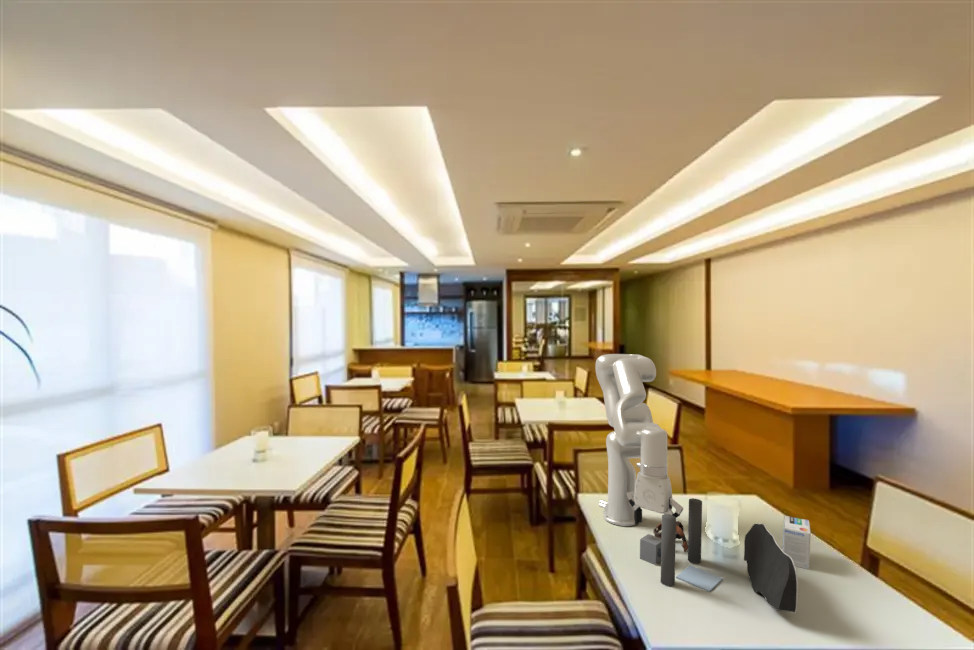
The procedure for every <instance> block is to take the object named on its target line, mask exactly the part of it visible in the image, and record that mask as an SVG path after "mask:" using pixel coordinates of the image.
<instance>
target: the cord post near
mask: <svg viewBox="0 0 974 650" xmlns="http://www.w3.org/2000/svg"><path fill="white" fill-rule="evenodd" d="M676 521H677V518H676V517H675V516H673V515H669V514H664V513H663V514H662V515H661V523H662V529H661V532H662V534H661V562H660V583H661V584H662V585H663V586H665V587H674V586H675V584H676V544H677V543H676V541H677V539H676Z"/></svg>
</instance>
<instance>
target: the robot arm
mask: <svg viewBox="0 0 974 650" xmlns="http://www.w3.org/2000/svg"><path fill="white" fill-rule="evenodd" d="M594 367H595V368H594V369H595V375H596V379H597V381H598V383H599V386H600V388H601V391H602V394H603V400H604V408H605V409H604V410H605V414H606V419H607V420H606V421H607V423H608V425H609V426H610V427H612V428H613V429H614V430H613V431H611V432H609V433H608V434H607V435H606V439H605V445H606V453H607V461H608V463H607V464H608V465H607V466H608V470H607V471H608V472H607V473H608V474H607V475H608V477H607V479H608V480H607V501H606V500H604V499H600V500H599V503H598V506H599V508H603V509H604V511H603V514H602V517H603V519H604V520H605V521H606V522H607V523H610V524H613V525H616V526H621V527H631V526H636V525H638V524H641V523H643V509H645V510H648V511H652V512H654V513H657V514H662V515H664V514H669V515H673V516H675V517H676V519H677V518H678V517H680V516H681V514H682V513H683V510H684V506H682V505H681V504H680V503H678V502H677V501H676V500H675V499H674V498H673V491H672V490H673V489H672V483H671V479H670V476H668V432H667V431H666V430H665V429H663V428H661V426H660V425H659V424H657V423H656V422H654V421H653V420H654V419H653V416H652V415H653V414H652V411H651V409H650V407H649V405H647V403H645V402H644V401H645V400H646V399H647V392H646V389H645V386H644V384H643V383H645V382H646V383H649V382H650V383H651V382H653V381H654V380H655V379H656V376H657V368H656V365H655V363H654V362H653V360H652V359H651V358H649V357H646V356H643V355H641V354H637V353H636V354H634V353H633V354H630V353H628V354H626V353H608V354H607V353H606V354H603V355H602V354H601V355H600V356H598V357H597V359H596V360H595V365H594ZM629 459H640V462H637V463H636V467H637V468H639V471H638V472H637V471H636V467H634V465H633V464H632V463H631V461H630V460H629ZM672 509H675V510H674V512H673V510H672Z"/></svg>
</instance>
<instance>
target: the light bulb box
mask: <svg viewBox="0 0 974 650" xmlns="http://www.w3.org/2000/svg"><path fill="white" fill-rule="evenodd" d="M810 526H811V525H810V521H809V519H804V518H803V519H802V518H798V517H794V516H788V515H784V516H783V528H782V530H783V531H782V550H783V551H784V552H785V553H786V554H788V555H789V556H790V557H791V558H792V560H793V562H794V565H795V567H797V568H801V569H805V570H810V559H811V557H810V552H811V527H810Z"/></svg>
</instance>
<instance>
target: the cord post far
mask: <svg viewBox="0 0 974 650" xmlns="http://www.w3.org/2000/svg"><path fill="white" fill-rule="evenodd" d="M702 521H703V501H702V500H701V499H699V498H693V497H692V498H691V497H690V498H689V499H688V525H687V529H688V532H687V544H688V550H687V561H688V562H689V563H691V564H693V565H700V564H701V563H702V532H703V531H702V529H703V528H702V527H703V526H702V525H703V524H702V523H703V522H702Z"/></svg>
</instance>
